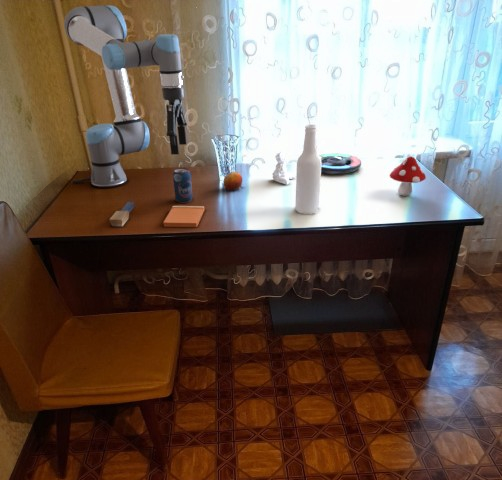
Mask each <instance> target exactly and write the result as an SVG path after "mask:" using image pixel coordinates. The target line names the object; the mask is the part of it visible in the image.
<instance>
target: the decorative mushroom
mask: <svg viewBox="0 0 502 480" xmlns="http://www.w3.org/2000/svg"><path fill="white" fill-rule="evenodd" d="M389 178H390V179H392V180H394V181H396V182H400V184H399V187H398V189H397V194H399V195H400V196H403V197H404V196H410V195H412V193H413V184H418V183H421V182H423V181H425V180H426V178H427V177H426V173H425V172H424V170H423V168H421V167H420V165H419V164H418V162H417V159H416V158H415V157H413V156H408V157H406V158H405V159H404V160H403V161H402V162H401V163H400V164H399V165H397V166H395V167H394V168H393V170H392V171H391V172H390V173H389Z"/></svg>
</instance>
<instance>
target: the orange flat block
mask: <svg viewBox="0 0 502 480" xmlns="http://www.w3.org/2000/svg"><path fill="white" fill-rule="evenodd" d="M204 213H205V206H203V205H172V207H171V209H170V211H169V213H168V214H167V216H166V217H165V219H164V221H163V222H162V223H163V227H165V228H168V227H169V228H170V227H171V228H197V227H198V225H199V223H200V221H201V219H202V217H203V214H204Z"/></svg>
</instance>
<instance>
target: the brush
mask: <svg viewBox="0 0 502 480" xmlns="http://www.w3.org/2000/svg"><path fill="white" fill-rule="evenodd" d="M134 207H135V202H134V201H127V203H126V204H124V206H123V207H122V208H121V210H116V211H115V212H114V213H113V214H112V216H110V218H109V224H110V225H111V227H124V225H125V224H126V223H127V222H128V220H129V217H130V213H131V211H132V210H133V208H134Z"/></svg>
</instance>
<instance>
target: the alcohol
mask: <svg viewBox="0 0 502 480" xmlns="http://www.w3.org/2000/svg"><path fill="white" fill-rule="evenodd" d="M304 128H305V129H304V139H303V140H304V141H303V150H302V153H301V154H300V155H299V157H298V158H297V162H296V179H295V180H296V181H295V210H296V212H298V213H299V214H302V215H303V214H304V215H311V214H312V215H313V214H315V213H317V212H318V211H319V209H320V194H321V178H322V172H321V165H322V163H321V159H320V157H319V155H320V154H319V153H318V151H317V150H318V149H317V131H318V130H317V128H318V126H317V125H316V124H306V125H305V127H304Z"/></svg>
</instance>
